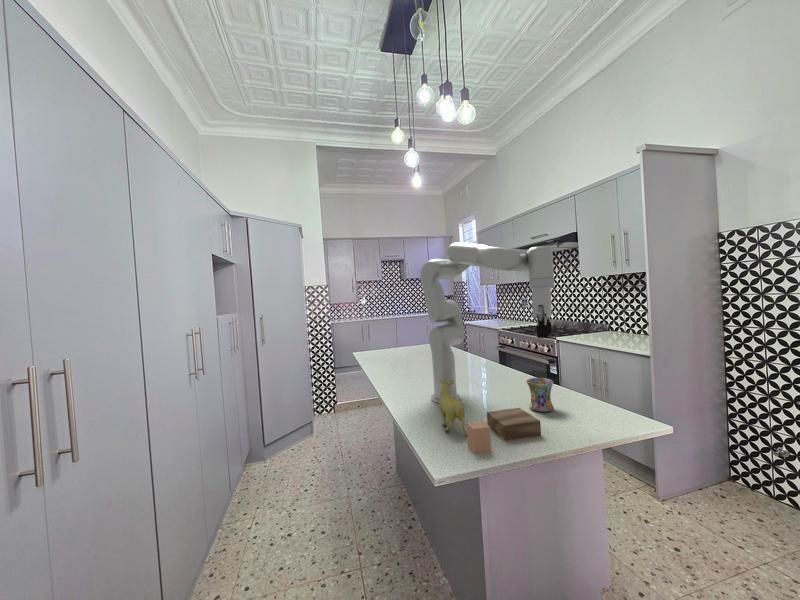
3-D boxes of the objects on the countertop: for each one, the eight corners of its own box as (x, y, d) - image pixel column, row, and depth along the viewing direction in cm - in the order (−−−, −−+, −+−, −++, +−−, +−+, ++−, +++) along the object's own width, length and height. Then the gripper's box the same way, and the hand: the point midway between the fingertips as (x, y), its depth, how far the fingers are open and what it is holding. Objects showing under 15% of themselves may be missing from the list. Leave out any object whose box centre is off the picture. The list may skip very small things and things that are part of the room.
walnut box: (487, 426, 110) (486, 412, 110) (520, 422, 112) (519, 407, 112) (505, 442, 98) (504, 425, 98) (541, 436, 100) (540, 420, 100)
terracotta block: (468, 445, 97) (466, 422, 97) (483, 443, 98) (482, 420, 98) (474, 453, 92) (473, 429, 92) (491, 451, 93) (489, 426, 93)
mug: (560, 412, 117) (558, 383, 117) (534, 414, 117) (533, 385, 117) (544, 401, 129) (542, 375, 129) (521, 403, 129) (519, 376, 129)
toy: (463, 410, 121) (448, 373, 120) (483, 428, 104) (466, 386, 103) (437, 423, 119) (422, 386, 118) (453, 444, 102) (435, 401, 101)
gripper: (533, 284, 117) (536, 332, 117) (525, 285, 102) (528, 339, 102) (556, 283, 113) (559, 332, 113) (551, 283, 98) (554, 339, 98)
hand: (544, 335), depth 108 cm, fingers open, 9 cm apart
